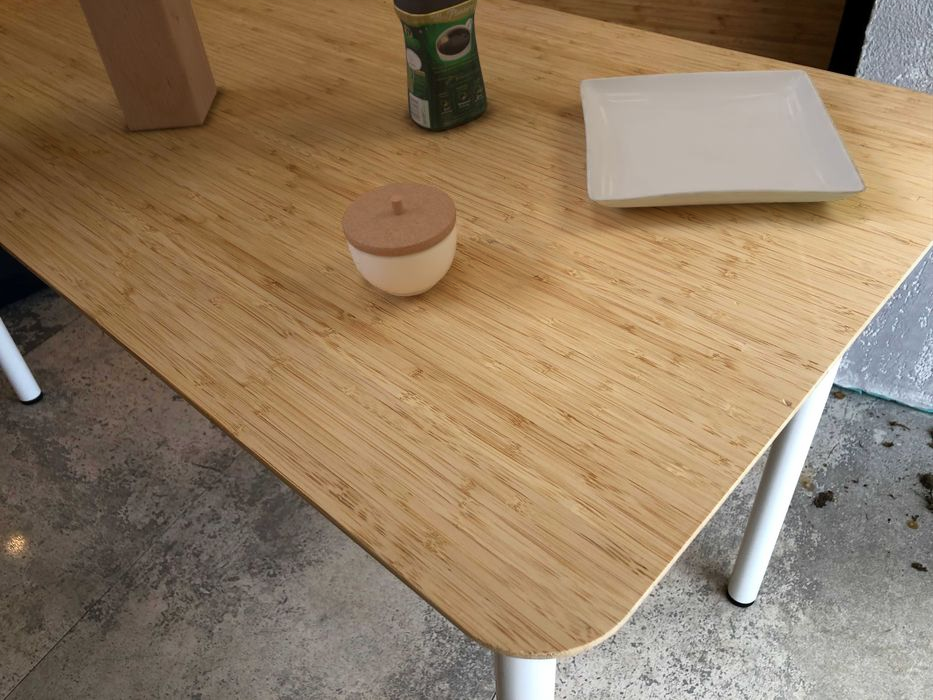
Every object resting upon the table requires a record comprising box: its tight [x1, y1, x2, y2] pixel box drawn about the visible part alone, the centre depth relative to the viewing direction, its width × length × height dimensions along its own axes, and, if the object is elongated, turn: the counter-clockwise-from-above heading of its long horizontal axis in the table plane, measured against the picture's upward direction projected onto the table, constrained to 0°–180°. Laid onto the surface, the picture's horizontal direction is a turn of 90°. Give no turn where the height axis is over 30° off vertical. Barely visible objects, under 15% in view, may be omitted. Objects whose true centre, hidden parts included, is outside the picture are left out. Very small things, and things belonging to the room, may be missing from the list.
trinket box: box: [341, 182, 458, 297], centre depth 81 cm, size 11×11×9 cm
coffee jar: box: [392, 0, 488, 132], centre depth 102 cm, size 10×8×19 cm
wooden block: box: [78, 0, 218, 132], centre depth 109 cm, size 10×10×20 cm
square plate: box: [579, 69, 867, 208], centre depth 95 cm, size 27×27×4 cm
